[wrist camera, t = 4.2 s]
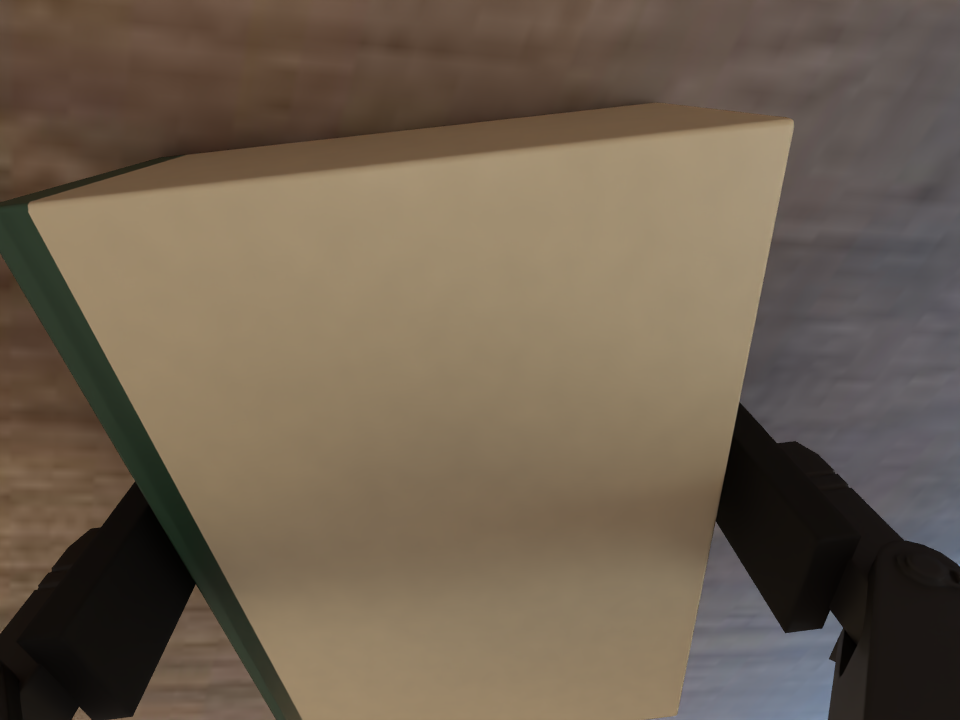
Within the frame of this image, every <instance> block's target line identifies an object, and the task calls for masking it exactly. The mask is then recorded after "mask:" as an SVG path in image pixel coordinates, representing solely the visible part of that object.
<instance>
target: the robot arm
mask: <svg viewBox="0 0 960 720" xmlns="http://www.w3.org/2000/svg"><path fill="white" fill-rule="evenodd" d="M716 522H717V524H718V526H719V527H720V529H721V530H722V532H723V534H724V535H725V537H726V538H727V540H728V542H729V543H730V545H731V546H732V548H733V550H734V551H735V553H736V555H737V556H738V558H739V559H740V561H741V563H742V564H743V566H744V567H745V569H746V571H747V572H748V574H749V576H750V577H751V579H752V580H753V582H754V584H755V585H756V587H757V588H758V590H759V592H760V593H761V595H762V597H763V598H764V600H765V601H766V603H767V605H768V606H769V608H770V609H771V611H772V613H773V614H774V616H775V617H776V619H777V621H778V622H779V624H780V626H781V627H782V629H783V630H784V632H785V633H790V632H798V631H806V630H813V629H821V628H823V626H824V623H825V621H826V619H827V616H828V614H829V611H830V610H831V612H832V613H833V614H834V616H835V617H836V619H837V620H838V621H839V623H840V624H841V625H842V627H843V629H842V631H841V634H840V636H839V638H838V640H837V642H836V644H835V647H834V649H833V651H832V653H831V655H830V657H829V659H830V660H832V661H835V662H836V663H835V670H834V678H833V686H832V693H831V701H830V709H829V716H828V720H960V567H959V566H958V565H957V564H956V563H955V562H954V561H952V560H951V559H949V558H948V557H946V556H945V555H944V554H942V553H941V552H938V551H936V550H934V549H932V548H929V547H927V546H925V545H922V544H918V543H914V542H909V541H904V540H903V539H902V538H901V537H900V536H899V535H898V534H897V533H896V532H895V531H894V530H893V529H892V528H891V527H890V526H889V525H888V524H887V523H886V522H885V521H884V520H883V519H882V518H881V517H880V516H879V515H878V514H877V513H876V512H875V511H874V510H873V509H872V508H871V507H870V506H869V505H868V504H867V503H866V502H865V501H864V500H863V499H862V498H861V497H860V496H859V495H858V494H857V493H856V492H855V491H854V490H853V489H852V488H849V487H848V484H847V483H846V482H845V481H844V480H843V479H842V478H841V477H840V476H839V475H838V474H835V472H834V470H833V469H832V468H831V467H830V466H829V465H828V464H827V463H826V462H825V461H824V460H823V459H822V458H821V457H820V456H819V455H818V454H817V453H815V452H813V451H811V450H810V449H808V448H806V447H805V446H803V445H801V444H799V443H798V442H796V441H793V442H785V443H776V442H775V440H774V439H773V438H772V437H771V436H770V435H769V434H768V433H767V432H766V431H765V430H764V428H763V427H762V426H761V425H760V424H759V423H758V422H757V421H756V420H755V419H754V418H753V416H752V415H751V414H750V413H749V412H748V411H747V410H746V409H745V408H744V407H743V406H742V404H741V403H740V402H739V406H738V411H737V416H736V421H735V426H734V431H733V436H732V441H731V446H730V451H729V456H728V461H727V466H726V471H725V476H724V481H723V486H722V491H721V496H720V501H719V506H718V511H717V516H716ZM195 585H196V583H195V582H194V580H193V578H192V576H191V575H190V573H189V571H188V570H187V568H186V566H185V565H184V563H183V561H182V560H181V558H180V556H179V554H178V553H177V551H176V549H175V548H174V546H173V544H172V543H171V541H170V539H169V538H168V536H167V534H166V533H165V531H164V529H163V527H162V526H161V524H160V522H159V521H158V519H157V517H156V516H155V514H154V512H153V511H152V509H151V507H150V505H149V504H148V502H147V500H146V499H145V497H144V495H143V494H142V492H141V490H140V489H139V487H138V485H137V484H136V482H134V484H133V485H132V486H131V488H130V489H129V490H128V492H127V493H126V494H125V496H124V497H123V498H122V500H121V501H120V502H119V504H118V505H117V506H116V508H115V509H114V510H113V512H112V513H111V515H110V516H109V517H108V519H107V520H106V521H105V523H104V524H103V525H102V527H100V528H92V529H90V530H89V531H87V532H86V533H85V534H84V535H83V536H81V537H80V538H79V539H78V540H77V541H75V542H74V543H73V544H72V545H71V546H69V547H68V548H67V550H66V551H65V552H64V553H63V555H62V556H61V557H60V558H59V560H58V561H57V562H56V564H55V565H54V566H53V567H52V572H50V573H48V574H47V575H46V576H45V578H44V579H43V580H42V581H41V583H40V584H39V585H38V590H34V592H33V593H32V594H31V596H30V597H29V598H28V599H27V601H26V602H25V603H24V604H23V606H22V607H21V608H20V610H19V611H18V612H17V613H16V615H15V616H14V617H13V619H12V620H11V621H10V622H9V624H8V625H7V626H6V627H5V629H4V630H3V631H2V633H1V634H0V720H72V718H73V716H74V714H75V713H76V711H77V709H78V707H80V708H81V709H82V710H83V711H84V712H85V713H86V714H87V715H88V716H89V717H90V718H91V719H92V720H110V719H117V718H125V717H133V715H134V713H135V710H136V708H137V706H138V704H139V702H140V700H141V698H142V696H143V694H144V692H145V689H146V687H147V685H148V683H149V681H150V679H151V677H152V675H153V673H154V671H155V668H156V666H157V664H158V662H159V660H160V658H161V656H162V654H163V652H164V650H165V647H166V645H167V643H168V641H169V639H170V637H171V635H172V633H173V631H174V629H175V626H176V624H177V622H178V620H179V618H180V616H181V614H182V612H183V610H184V608H185V606H186V603H187V601H188V599H189V597H190V595H191V593H192V591H193V589H194V587H195Z"/></svg>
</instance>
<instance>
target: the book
mask: <svg viewBox="0 0 960 720" xmlns="http://www.w3.org/2000/svg"><path fill="white" fill-rule="evenodd" d="M793 129H794V121H793V120H792V119H790V118H787V117H778V116H770V115H761V114H752V113H744V112H735V111H727V110H718V109H709V108H701V107H692V106H683V105H675V104H666V103H658V102H657V103H648V104H639V105H630V106H621V107H612V108H603V109H594V110H585V111H576V112H567V113H558V114H549V115H540V116H531V117H522V118H513V119H504V120H495V121H486V122H477V123H468V124H459V125H450V126H441V127H432V128H423V129H414V130H405V131H396V132H387V133H378V134H369V135H360V136H351V137H342V138H333V139H324V140H315V141H306V142H297V143H288V144H279V145H270V146H261V147H252V148H243V149H234V150H225V151H216V152H207V153H198V154H189V155H179V156H170V157H161V158H157V159H153V160H150V161H146V162H143V163H139V164H135V165H132V166H128V167H125V168H121V169H118V170H114V171H111V172H107V173H103V174H100V175H96V176H93V177H89V178H86V179H82V180H78V181H75V182H71V183H68V184H64V185H61V186H57V187H53V188H50V189H46V190H43V191H39V192H36V193H32V194H29V195H25V196H21V197H18V198H14V199H11V200H7V201H4V202H0V254H1V255H2V257H3V259H4V260H5V262H6V264H7V266H8V267H9V269H10V271H11V272H12V274H13V276H14V277H15V279H16V281H17V282H18V284H19V286H20V288H21V289H22V291H23V293H24V294H25V296H26V298H27V299H28V301H29V303H30V304H31V306H32V308H33V309H34V311H35V313H36V315H37V316H38V318H39V320H40V321H41V323H42V325H43V326H44V328H45V330H46V331H47V333H48V335H49V337H50V338H51V340H52V342H53V343H54V345H55V347H56V348H57V350H58V352H59V353H60V355H61V357H62V358H63V360H64V362H65V364H66V365H67V367H68V369H69V370H70V372H71V374H72V375H73V377H74V379H75V380H76V382H77V384H78V386H79V387H80V389H81V391H82V392H83V394H84V396H85V397H86V399H87V401H88V402H89V404H90V406H91V407H92V409H93V411H94V413H95V414H96V416H97V418H98V419H99V421H100V423H101V424H102V426H103V428H104V429H105V431H106V433H107V435H108V436H109V438H110V440H111V441H112V443H113V445H114V446H115V448H116V450H117V451H118V453H119V455H120V456H121V458H122V460H123V462H124V463H125V465H126V467H127V468H128V470H129V472H130V473H131V475H132V477H133V478H134V480H135V482H136V484H137V485H138V487H139V489H140V490H141V492H142V494H143V495H144V497H145V499H146V500H147V502H148V504H149V505H150V507H151V509H152V511H153V512H154V514H155V516H156V517H157V519H158V521H159V522H160V524H161V526H162V527H163V529H164V531H165V533H166V534H167V536H168V538H169V539H170V541H171V543H172V544H173V546H174V548H175V549H176V551H177V553H178V554H179V556H180V558H181V560H182V561H183V563H184V565H185V566H186V568H187V570H188V571H189V573H190V575H191V576H192V578H193V580H194V582H195V583H196V585H197V587H198V588H199V590H200V592H201V593H202V595H203V597H204V598H205V600H206V602H207V603H208V605H209V607H210V609H211V610H212V612H213V614H214V615H215V617H216V619H217V620H218V622H219V624H220V625H221V627H222V629H223V631H224V632H225V634H226V636H227V637H228V639H229V641H230V642H231V644H232V646H233V647H234V649H235V651H236V652H237V654H238V656H239V658H240V659H241V661H242V663H243V664H244V666H245V668H246V669H247V671H248V673H249V674H250V676H251V678H252V680H253V681H254V683H255V685H256V686H257V688H258V690H259V691H260V693H261V695H262V696H263V698H264V700H265V701H266V703H267V705H268V707H269V708H270V710H271V712H272V713H273V715H274V717H275V718H276V720H645V719H653V718H662V717H670V716H676V715H677V713H678V708H679V703H680V698H681V692H682V687H683V682H684V677H685V672H686V667H687V662H688V657H689V652H690V647H691V642H692V637H693V632H694V627H695V622H696V617H697V612H698V607H699V602H700V597H701V592H702V587H703V582H704V577H705V572H706V567H707V562H708V557H709V552H710V547H711V542H712V536H713V531H714V526H715V521H716V516H717V511H718V506H719V501H720V496H721V491H722V486H723V481H724V476H725V471H726V466H727V461H728V456H729V451H730V446H731V441H732V436H733V431H734V426H735V421H736V416H737V411H738V406H739V401H740V396H741V391H742V386H743V380H744V375H745V370H746V365H747V360H748V355H749V350H750V345H751V340H752V335H753V330H754V325H755V320H756V315H757V310H758V305H759V300H760V295H761V290H762V285H763V280H764V275H765V270H766V265H767V260H768V255H769V250H770V245H771V240H772V235H773V229H774V224H775V219H776V214H777V209H778V204H779V199H780V194H781V189H782V184H783V179H784V174H785V169H786V164H787V159H788V154H789V149H790V144H791V139H792V134H793Z"/></svg>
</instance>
